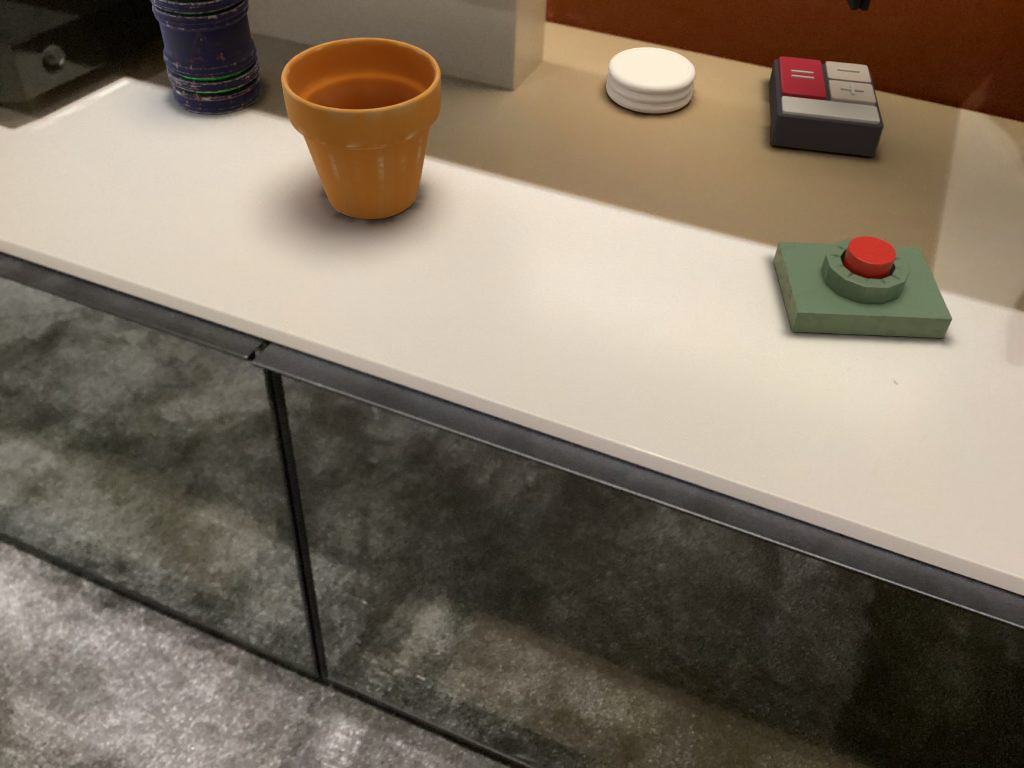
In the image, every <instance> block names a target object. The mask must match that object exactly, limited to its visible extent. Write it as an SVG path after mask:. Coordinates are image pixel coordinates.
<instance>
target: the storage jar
mask: <svg viewBox="0 0 1024 768" xmlns="http://www.w3.org/2000/svg"><path fill="white" fill-rule="evenodd" d="M150 2H151V5H152V6H151V9H152V12H153V14H154V17H155V19H156V20H157V21H158V23H159V28H160V33H161V36H162V41H163V45H164V48H163V50H162V51H163V52H162V53H163V62H164V63H165V65H166V66H165V68H166V72H167V77H168V80H169V82H170V85H171V87H172V89H173V97H174V102H175V103H176V104H177V105H178V106H179V107H181V109H184V110H185V111H187V112H190V113H191V112H192V113H195V114H202V115H222V114H229V113H233V112H237V111H241V110H243V109H245V108H248V107H250V106H251V105H253V104H254V103H256V102H257V101H258V100H259V99H260V97H261V95H262V92H263V87H262V83H261V80H260V76H261V75H260V62H259V57H258V55H257V53H258V49H257V46H256V43H255V40H254V39H253V38H252V36H251V35H252V34H251V28H250V23H249V22H250V21H249V17H248V12H249V8H250V7H249V0H150Z"/></svg>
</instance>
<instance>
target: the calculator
mask: <svg viewBox="0 0 1024 768" xmlns="http://www.w3.org/2000/svg"><path fill="white" fill-rule="evenodd" d="M768 88H769V105H770V129H769V131H770V132H769V133H770V143H771V145H773V146H774V147H775V146H777V147H783V148H794V149H800V150H801V149H802V150H811V151H817V152H818V151H820V152H828V153H836V154H844V155H853V156H860V157H861V156H863V157H874V156H875V155H876V152H877V149H878V145H879V143H880V140H881V136H882V133H883V130H884V127H885V125H884V122H883V117H882V113H881V109H880V105H879V102H878V97H877V94H876V89H875V85H874V80H873V77H872V73H871V70H870V68H869V67H868V65H866V64H859V63H849V62H839V61H830V60H826V61H825V63H822V61H821V60H819V59H811V58H804V57H803V58H801V57H792V56H782V55H781V56H779V57H778V58H775V59H774V60H773V63H772V67H771V71H770V76H769V80H768Z"/></svg>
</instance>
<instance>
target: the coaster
mask: <svg viewBox="0 0 1024 768" xmlns="http://www.w3.org/2000/svg"><path fill="white" fill-rule="evenodd" d="M696 76H697V73H696V68H695V66H694V65H693V63H692V62H691V61H690V60H689V59H688V58H687V57H685V56H683V54H679V53H678V52H675V51H672V50H669V49H665V48H660V47H651V46H650V47H648V46H645V47H644V46H643V47H633V48H628V49H625V50H622V51H620V52H618V53H617V54H615V55H614V56H613V57H612V58H610V60H609V62H608V65H607V75H606V80H607V81H606V84H605V88H606V92H607V95H608V97H609V98H610V99H611V100H612V101H613V102H614V103H616V104H617V105H619V106H620V107H622V108H625V109H627V110H630V111H633V112H636V113H641V114H642V113H643V114H654V115H655V114H667V113H672V112H674V111H677V110H680V109H682V108H684V107H686V105H688V104H689V102H690V101H691V99H692V97H693V93H694V92H693V90H694V88H695V79H696Z"/></svg>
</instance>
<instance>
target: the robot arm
mask: <svg viewBox="0 0 1024 768" xmlns="http://www.w3.org/2000/svg"><path fill="white" fill-rule="evenodd" d="M845 1H846V3H847V5H848V7H849V9H850V11H858V10H860V11H862V12H863V11H864V12H867V11H869V9H870V6H871V5H870V4H871V1H872V0H845Z"/></svg>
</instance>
